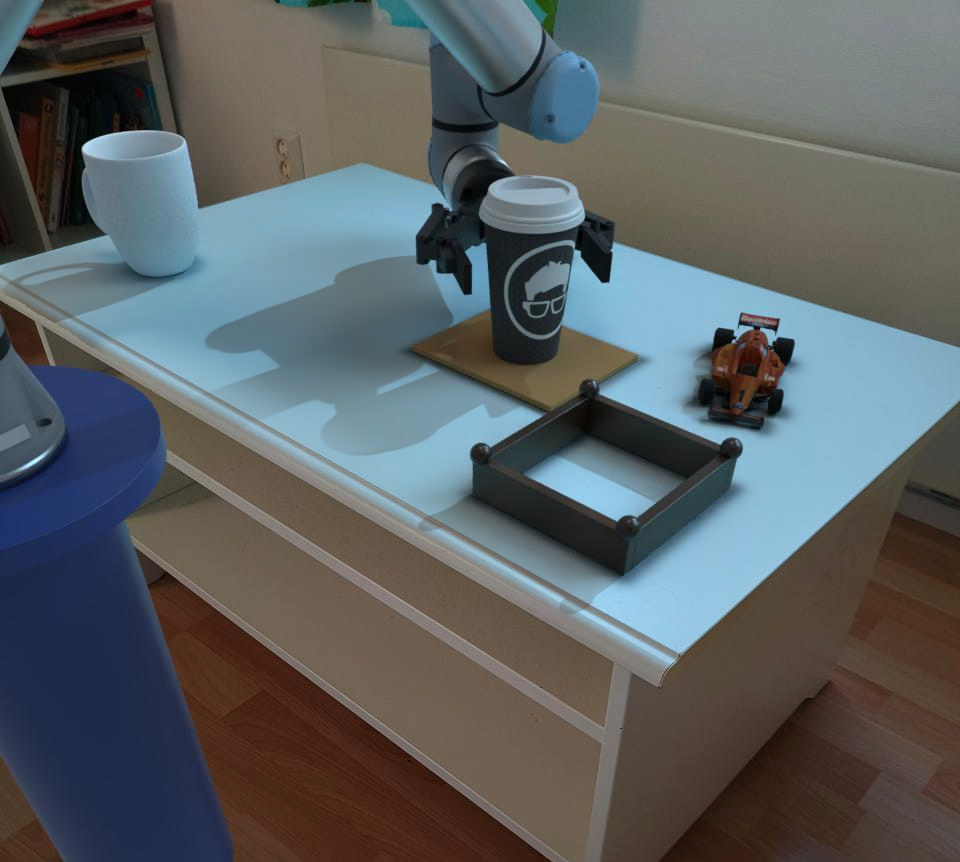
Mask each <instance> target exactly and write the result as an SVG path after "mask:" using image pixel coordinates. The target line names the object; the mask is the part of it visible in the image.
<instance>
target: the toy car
mask: <svg viewBox="0 0 960 862" xmlns="http://www.w3.org/2000/svg"><path fill="white" fill-rule="evenodd" d="M780 322H781V318H779V317H777V318H776V317H769V316H763V315H756V314H751V313H746V312H740V314H739V318H738V323H737V329H736V330H739V328H740V326H743V327H750V328H752V329H749V330H746V331H745V332H743V333H742V334H741V335H740V336H739V337H738V336H736V335H735V329H732V328H725V327H720V326H719V327H717V328H716V330H715V331H714V335H713V339H712V342H713V343H712V347H711V358H710V361H711V365H712V370H711V374H710V378H701V380H700V383H699V386H698V393H697V397H698V400H699V402H701V403H702V402H703V403H711V402H712V401H713V400H714V398H715V396H716V395H715V393H716V392H720V393H725V397H724V399H719V401H720V402H721V403H723V404H724V405H725V406H728V407H730V409H728V408H723V407H719V406H714V405H710V406H709V407H708V411H707V415H709V416H713V417H717V418H720V419H725V420H728V421H729V420H730V421H735V422H739V423H745V424H749V425H751V426H757V427H761V428H763V426H764V422H765V419H766V418H765V417H764V416H759V415H753V414H750V413H745V412H744V411H745V410H747V409H754V408H757V406H756V404H754V400H755V399H758V400H760V401H764V402H766V401H767V406H766V407H767V411H768V413H779V412H781V410H782V407H783V403H784V397H785V393H784V390H783V388H778V385H779V382H780V378H781V377H782V376H783V374H784V373H785V369H786V366H788V365H789V364H790V363H791V361H792V357H793V353H794V350H795V347H796V340H795V339H794V338H790V337H783V336H778V337H776V336H777V333H778V331H779V326H780ZM761 329H765V330H770V331H773V332H774V336H775V337H776V340H772V343H771V344H770V343H769V340H768V336H767V334H766V333H765V332H764V331H762V330H761ZM737 337H738V338H737ZM733 341H734V342H733ZM767 398H768V400H767Z"/></svg>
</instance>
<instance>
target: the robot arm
mask: <svg viewBox="0 0 960 862" xmlns="http://www.w3.org/2000/svg"><path fill="white" fill-rule="evenodd" d="M44 1H45V0H0V76H1V75H2V73H4V70H5V68H6V67H7V65H8V63H9V62H10V60H11V58H12V57H13V55H14V53H15V51H16V50H17V48H18V46H19V45H20V42H21V41H22V39H23V37H24V36H25V34H26V33H27V31H28V29H29V27H30V26H31V24H32V22H33V20H34V19H35V17H36V15H37V14H38V12H39V10H40V8H41V7H42V6H43V3H44ZM403 2H404V3H405V4H406V5H407V6H408V7H409V8H410V9H411V11H412V12H413V13H414V14H415V15H416V17H418V19H419V20H420V21H421V22H422V23H423V24H424V25H425V26H426V28H428V29H429V45H428V53H429V70H430V71H429V72H430V74H429V75H430V92H431V95H430V96H431V113H432V114H431V137H430V139H429V141H428V145H427V149H426V163H427V167H428V172H429V175H430V177H431V179H432V182H433V184H434V185H435V188H437V190H438V191H439V192H440V193H441V195H442V197H443V198H444V200H445V201H446V203H447V205H448V206H449V207H444V204H443V203H441V202H435V203H432V204H430V205H431V206H430V208H431V214H430V215H429V216H428V217H427V219H426V221H425V222H424V223H423V225H422V226H421V228H420V229H419V231H418V232H417V233H416V234H415V257H416V258H415V261H416V264H417V265H419V266H425V265H428V264H429V263H430V262H431V261H435V266H436V267H435V269H436V270H435V272H436V273H437V274H440V275H450V274H451V275H453V277H454V279H455V281H456V283H457V284H458V287H459V289H460V290H461V292H462V294H463V296H470V295H473V263H472V261H471V260H470V258H469V256H468V254H467V253H466V252H467V251H468V250H469V249H470V248H471V247H477V248H478V247H480V246H481V245H482V244H486V237H485V224H484V222H483V221H482V220H481V218H480V217H479V210H480V206H481V204H482V201H483V199H484V198H485V197H486V196H487V192H488V189H489V186H490V185H491V184H492V183H494V182H496V181H498V180H500V179H504V178H508V177H514V176H517V175H516V174H515V173H514V171H513V169H512V168H511V167H510V166H509V165H508V164H507V163H506V162H505V160H504V159H503V158H502V156H501V155H500V154H499V139H500V135H499V133H500V124H502V125H504V126H506V127H508V128H512V129H514V130H516V131H519V132H521V133H524V134H527V135H529V136H531V137H533V138H534V139H536V140H538V141H548V142H551V143H555V144H569V143H571V142H573V141H575V140H577V139H579V138H580V137H581V136H582V135H583V134H584V132H586V130H587V129H588V127H589V126H590V124H591V122H592V120H593V119H594V118H595V115H596V112H597V109H598V104H599V98H600V83H599V78H598V74H597V72H596V69H595V68H594V66H593V64H592V63H591V62H589V60H588V59H586V58H585V57H581V56H579V55H578V54H577V53H576V52H574V51H572V50H563V49H562V48H560V47H559V46H558V45H557V43H556V42H555V41H554V39H553V38H552V37H551V36H550V34H549V33H548V31H546V30H545V28H544V26H543V25H542V24H541V23H540V22H539V20H538V19H537V18H536V16H535V15H534V14H533V12H532V11H531V10H530V8H529V7H528V6H527V3H525V2H524V0H403ZM584 213H585V219H584V221H583V222H582V223H581V224H579V226H578V231H577V237H576V243H575V249H574V251H578V252H580V258H581V259H582V261H583V262H584V263H585V264H586V265H587V267H588V268H589V269H590V271H591V272H592V273H593V275H594V276H595V277H596V278H597V279H598V280H599V281H600V283H601V284H609V283H611V272H612V265H613V264H612V263H613V257H614V255H613V254H614V252H613V251H612V250H613V248H614V247H613V246H614V238H615V230H616V222H615V221H613V220H611V219H609V218H606V217H604V216H602V215H600V214H597V213H594V212H592V211H589V210H587V209H585V208H584ZM26 365H27V364H26V363H25V362H24V360H23V359H22V358H21V357H20V356H19V354H18V353H17V352H16V350H15V348H14V347H13V345H12V342H11V340H10V337H9V334H8V332H7V329H6V325H5V324H4V321H3V318H2V315H1V314H0V492H2V491H5V490H7V489H10V488H13V487H15V486H17V485H19V484H22V483H24V482H26V481H28V480H30V479H31V478H33V477H35V476H37V475H38V474H40V473H41V472H43V471H44V470H45V469H47V468H48V467H49V466H50V465H52V464H53V463H54V462H55V461H56V460H57V459H58V458H59V457H60V455H61V454H62V453H63V451H64V449H65V448H66V445H67V443H68V438H69V433H68V429H67V426H66V423H65V420H64V418H63V415H62V413H61V411H60V409H59V407H58V406H57V404H56V402H55V401H54V400H53V398H52V397H51V396H50V395H49V393H48V392H47V391H46V390H45V388H44V387H43V386H42V385H41V383H40V382H39V381H38V380H37V378H36V377H35V376H34V375H33V373H32V372H31V371H30V370H29V368H28V367H27V366H26Z"/></svg>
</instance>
